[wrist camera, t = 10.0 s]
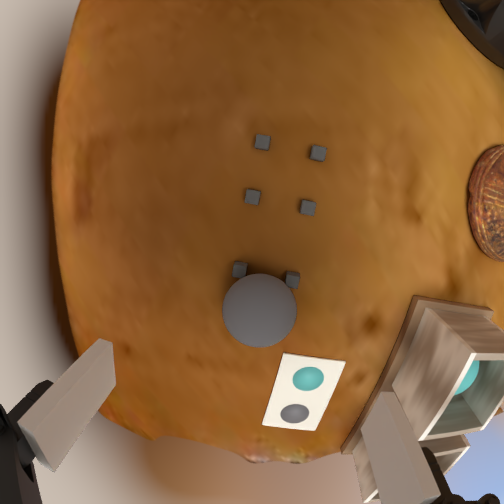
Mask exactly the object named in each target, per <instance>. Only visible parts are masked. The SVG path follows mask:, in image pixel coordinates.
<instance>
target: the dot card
mask: <svg viewBox="0 0 504 504" xmlns="http://www.w3.org/2000/svg"><path fill="white" fill-rule="evenodd" d="M345 363H346V361H343V360H334V359H326V358H318V357H311V356H304V355H297V354H291V353H285V352H284V353H283V356H282V360H281V363H280V367H279V370H278V373H277V377H276V380H275V384H274V387H273V390H272V393H271V397H270V400H269V403H268V406H267V409H266V413H265V416H264V419H263V422H262V425H267V426H274V427H282V428H291V429H301V430H312V431H315V430H316V428H317V426H318V423H319V421H320V419H321V417H322V415H323V413H324V411H325V409H326V407H327V405H328V402H329V400H330V398H331V396H332V394H333V391H334V389H335V387H336V384H337V382H338V380H339V377H340V375H341V373H342V370H343V368H344V365H345Z"/></svg>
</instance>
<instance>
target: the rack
mask: <svg viewBox="0 0 504 504" xmlns="http://www.w3.org/2000/svg"><path fill="white" fill-rule="evenodd" d="M493 313H494V311H493V310H491V309H490V308H487V307H481V306H475V305H469V304H462V303H456V302H450V301H445V300H439V299H433V298H427V297H421V296H415V295H414V296H413V299H412V302H411V305H410V307H409V310H408V313H407V316H406V318H405V321H404V323H403V326H402V329H401V331H400V334H399V336H398V339H397V341H396V343H395V346H394V348H393V350H392V353H391V355H390V357H389V360H388V362H387V364H386V366H385V368H384V370H383V373H382V375H381V377H380V379H379V381H378V383H377V385H376V387H375V389H374V391H373V393H372V395H371V397H370V399H369V401H368V402H367V404H366V406H365V408H364V410H363V412H362V413H361V415H360V417H359V419H358V421H357V422H356V424H355V426H354V427H353V429H352V431H351V433H350V434H349V436H348V437H347V439H346V441H345V442H344V444H343V446H342V447H341V454H353V457H354V462H355V466H356V471H357V476H358V481H359V486H360V491H361V496H362V501H363V503H365V502H374V501H380V497H379V493H378V489H377V485H376V482H375V478H374V474H373V470H372V467H371V463H370V460H369V456H368V452H367V449H366V446H365V442H364V439H363V435H362V432H361V427H362V426H363V424H364V422H365V421H366V419H367V417H368V415H369V414H370V412H371V410H372V408H373V406H374V405H375V403H376V401H377V399H378V397H379V395H380V393H381V392H394V393H395V395H396V397H397V399H398V401H399V403H400V405H401V407H402V409H403V411H404V413H405V415H406V417H407V419H408V421H409V423H410V425H411V428H412V430H413V432H414V434H415V436H416V438H417V440H418V443H419V445H420V447H428V448H429V449H430V450H431V451H432V452H433V453H434V455H435V457H436V460H437V464H439V466H440V468H441V469H440V470H442V473H443V475H445V474H446V473H447V472H448V471H449V470H450V469H451V468H452V467H453V466H454V465H455V463H456V462H457V461H458V460H459V459H460V458H461V457H462V455H463V454H464V453H465V452H466V451H467V450H468V449H469V447H470V444H469V442H468V440H467V439H466V437H465V435H464V434H466V433H471V432H476V431H480V430H483V429H484V428H485V427H486V425H487V424H488V423H489V421H490V420H491V418H492V417H493V416H494V414H495V413H496V411H497V410H498V408H499V407H500V405H501V404H502V402H503V401H504V330H502V329H501V328H500V327H499V326H497V325H496V324H495V323H494V322H492V321H491V318H492V315H493ZM473 360H479V370H478V374H477V376H476V378H475V380H474V382H473V383H472V384H471V386H470V387H469V388H467V389H466V390H465V391H463V392H462V393H460V394H457V395H454V394H455V392H456V391H457V389H458V387H459V386H460V384H461V382H462V380H463V379H464V377H465V375H466V373H467V371H468V369H469V367H470V366H471V364H472V362H473Z"/></svg>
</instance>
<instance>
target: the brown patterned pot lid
mask: <svg viewBox="0 0 504 504" xmlns="http://www.w3.org/2000/svg"><path fill="white" fill-rule="evenodd" d="M498 147H499V148H498ZM489 165H490V166H489ZM473 177H474V178H473ZM488 183H489V184H488ZM468 188H469V191H470V199H469V202H468V214H469V219H470V224H471V228H472V231H473V235H474V237H475V239H476V241H477V243H478V245H479V247H480V248H481V250H482V251H483V252H484V253H485V254H486V255H488V256H489V257H490V258H492V259H494V260H496V261H499V262H504V207H503V206H504V145H500V146H497V147H495V148H493V149H489V150H487V151H486V152H485V153H484V154H483V156H481V158H480V159H479V160H478V162H477V164H476V166H475V168H474V170H473V173H472V176H471V178H470V182H469V187H468ZM498 191H499V192H498ZM492 208H493V209H492ZM491 219H492V220H491ZM497 222H498V223H497ZM486 224H487V225H486ZM492 234H493V235H492ZM479 237H480V238H479ZM481 242H482V243H481ZM488 253H489V254H488Z"/></svg>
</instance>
